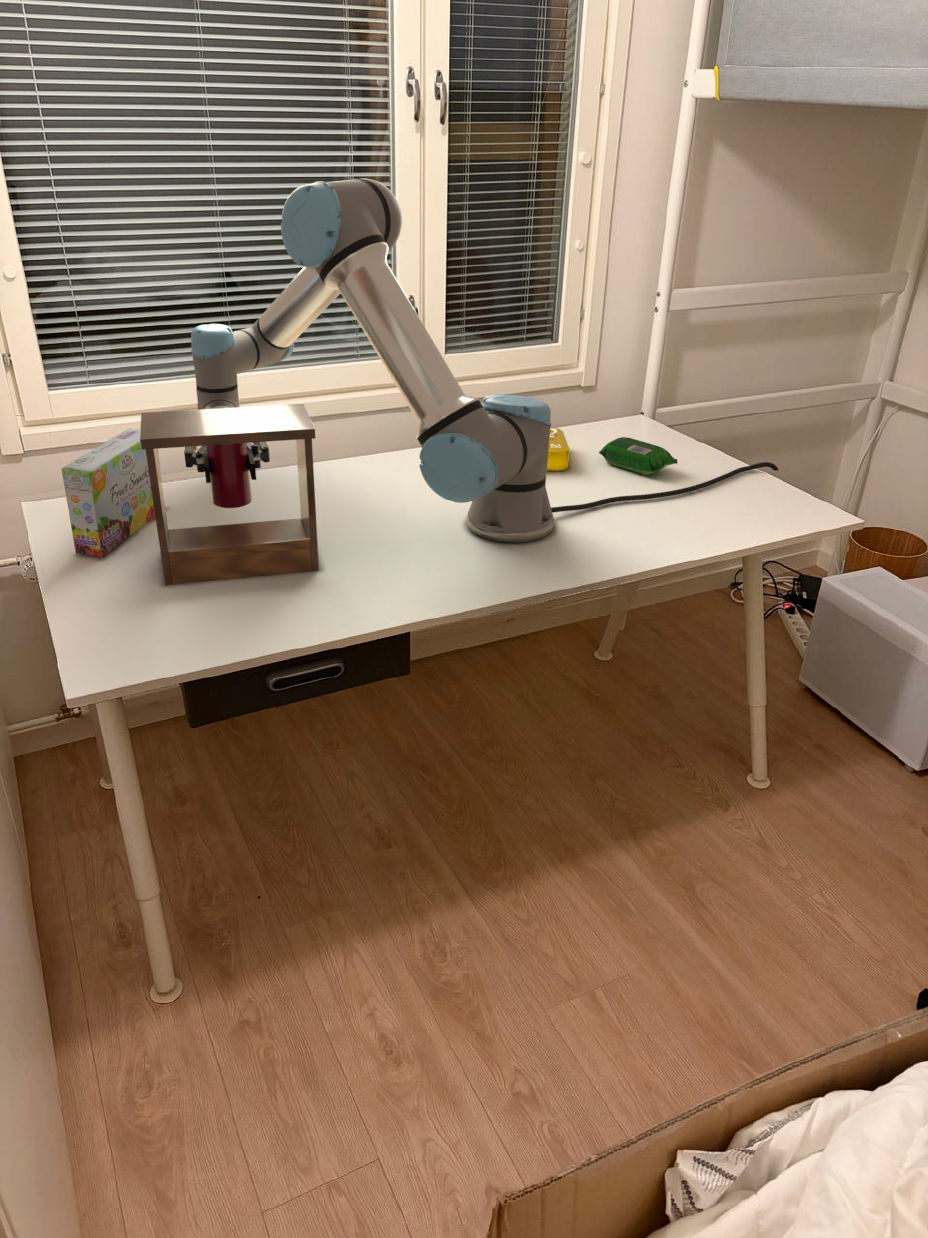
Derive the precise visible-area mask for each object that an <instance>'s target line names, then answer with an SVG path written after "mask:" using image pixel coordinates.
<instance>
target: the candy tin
mask: <svg viewBox="0 0 928 1238" xmlns="http://www.w3.org/2000/svg"><path fill="white" fill-rule="evenodd" d="M207 453H208V461H209V469H210V477H211V483H210V488H211V496H212V503H213V505H214V506H216V507H218V508H223V509H237V508H242V507H245V506H248V505H249V504H251V503H252V501H253V496H252V485H251V475H250V471H249V462H248V450H247V443H237V444H221V445H207Z"/></svg>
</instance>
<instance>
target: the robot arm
mask: <svg viewBox="0 0 928 1238" xmlns="http://www.w3.org/2000/svg"><path fill="white" fill-rule="evenodd" d="M402 226H403V215H402V209H401V206H400V204H399V201H398V199H397V198H396V196H395V195H394V193H393V192H392V191H391V190H390V189H389V188H388V187H387V186H386V185H385V184H383V183H381V182H380V181H378V180H375V179H371V178H365V177H364V178H363V177H361V178H360V177H359V178H354V179H345V180H336V181H322V180H319V181H318V180H317V181H314V182H313V183H308V184H303V185H301V186H299V187H297V188H296V189H294V190H293V191H292V192H291V193H290V194H289V196H288V197H287V199H286V200H285V203H284V205H283V207H282V213H281V223H280V234H281V239H282V243H283V245H284V249H285V250H286V252H287V254H288V255H289V257H290V258H291V259H292V260H293V262H294V263H295V264H297V265H298V266H300V267H303V268H302V269H301V270H300V271H299V272H298V273H297V274H296V275H295V276H294V278H293V279H292V280H291V281H290V283H288V284H287V285H286V287H285V288H284V289H283V291H281V293H280V294H279V295H278V296H277V297H276V298H275V299H274V300H273V302H272V303H270V305H269V306H268V307H267V308H266V310H265V311H264V312H263V313H262V314H261V316H260V317H259V318H258V319H257V320H256V321H254V323H253V324H252V325H251V326H248V327H246V328H243V329H239V330H235V331H233V330H232V328H231V327H230V326H229V325H226V324H222V323H209V324H200V325H198V326H194V328H192V330H191V332H190V339H191V340H190V344H191V345H190V346H191V349H190V352H191V356H192V362H193V370H194V377H195V386H196V389H195V390H196V398H197V410H202V409H221V408H239V407H240V398H239V388H238V387H239V385H238V375H239V374H243V373H245V372H249V371H253V370H256V369H259V368H263V367H266V366H270V365H276V364H279V363H281V362H282V361H285V360H287V359H289V358H290V357H291V356H292V354H293V353H294V347H295V341H296V340H297V339H298V338H299V337H300V336H302V334H303V333H304V332H305V331H306V330H307V329H308V328H309V327H310V326H311V325H312V323H314V321H316V319H318V317H319V316H320V315H321V314H322V313H323V312H324V311H325V310H326V309H327V308H328V307H329V306H330V305H331V304H332V303H333V302H334V301H335V300H336V298H337V297H339V296H340V294H341V297H342V298H343V299H344V301H345V303H346V305H347V306H348V308H349V309H350V312H351V313H352V314H353V316H354V318H355V319H356V321H357V323H358V325H359V326H360V328H361V329H362V331H363V333H364V334H365V337H367V339H368V341H369V343H370V344H371V346H372V348H373V349H374V351H375V353H376V354H377V356H378V357H379V359H380V362H381V363H382V364H383V366H384V369H386V372H388V374H389V376H390V378H391V379H392V381H393V383H394V384H395V386H396V388H397V389H398V391H399V393H400V395H401V396H402V398H403V399H404V401H405V403H406V404H407V406H408V408H409V410H410V411H411V413H412V414H413V416H414V418H415V420H416V422H417V425H418V426H417V431H416V436H415V438H416V440H417V442H418V443H419V444H420V447H421V450H420V452H419V457H418V458H419V460H420V463H419V470H420V473H421V476H422V478H423V480H424V482H425V484H426V485H427V486H428V487H429V488H430V489H431V490H432V491H433V492H434V493H435V494H436V495H438V496H439V497H440V498H442V499H444V500H447V501H451V502H453V503H458V504H467V503H470V502H471V504H470V506H469V508H468V511H467V527H468V528H469V530H470V531H471V532H472V533H473V534H475V535H477V536H479V537H482V538H484V539H487V540H491V541H494V542H500V543H514V544H515V543H527V542H533V541H537V540H540V539H542V538H545V537H547V536H549V534H550V533H551V532H552V531H553V529H554V527H553V526H554V514H553V513H561V512H571V511H582V510H588V509H592V508H596V507H600V506H603V505H608V504H613V503H619V502H620V503H621V502H627V501H628V502H630V501H643V500H644V501H645V500H652V499H653V500H654V499H659V498H666V497H672V496H677V495H683V494H687V493H691V492H694V491H697V490H701V489H705V488H707V487H710V486H712V485H714V484H718V483H719V482H722V481H724V480H727V479H730V478H731V477H734V476H736V475H739V474H741V473H745V472H749V471H753V470H756V469H759V468H770V469H772V470H773V471H777V472H779V470H780V469H779V468H778V466H777V465H776V464H775V463H772V462H770V461H764V462H763V461H762V462H758V463H754V464H750V465H745V466H742V467H738V468H736V469H733V470H731V471H729V472H727V473H725V474H722V475H719V476H717V477H714V478H712V479H710V480H707V481H704V482H700V483H698V484H695V485H691V486H687V487H684V488H679V489H673V490H668V491H661V492H653V493H646V494H633V495H620V496H613V497H608V498H603V499H599V500H595V501H592V502H588V503H587V502H586V503H581V504H572V505H562V506H561V505H560V506H554V507H553V506H552V507H551V503H550V499H549V495H548V491H547V472H548V471H547V462H548V450H549V437H550V428H552V423H551V422H552V421H551V418H552V415H551V414H552V413H551V407H550V406H549V404H548V403H546V402H545V401H543V400H541V399H538V398H534V397H531V396H524V395H516V394H503V393H500V394H499V393H498V394H490V395H487V396H485V397H484V398H483V399H482V403H481V400H479V397H478V398H477V397H473V396H470V395H467V394H465V393H464V390H463V389H462V387H461V386H460V384H459V383H458V380H457V379H456V377H455V376H454V374H453V372H452V371H451V369H450V367H449V365H448V364H447V362H446V360H445V359H444V357H443V355H442V354H441V351H440V350H439V348H438V347H437V345H436V343H435V342H434V340H433V338H432V337H431V335H430V333H429V332H428V330H427V328H426V326H425V325H424V323H423V322H422V320H421V318H420V316H419V315H418V313H417V312H416V310H415V308H414V307H413V305H412V303H411V302H410V300H409V298H408V297H407V295H406V293H405V291H404V290H403V288H402V286H401V284H400V282H399V281H398V279H397V278H396V276H395V274H394V273H393V271H392V269H391V267H390V266H389V264H388V263H387V257H388V254H389V252H390V251H391V250H392V249H393V247H394V246H395V245H396V244H397V242H398V240H399V237H400V235H401V231H402ZM247 450H248V462H249V472H250V480H251V481H255V480H257V473H256V472H257V471H256V470H257V469H261V468H262V462H263V463H270V461H271V458H270V447H269V445H268V442H253V443H247ZM183 455H184V463H185V467H186V468H189V469H190V468H193V467H194V466H196V471H197V472H198V473H204V477H205V483H206V484H211V477H210V469H209V461H208V453H207V445H206V446H199V448H198V446H190V447H184V451H183Z"/></svg>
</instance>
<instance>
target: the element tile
mask: <svg viewBox="0 0 928 1238" xmlns="http://www.w3.org/2000/svg"><path fill="white" fill-rule="evenodd" d="M569 461H570V447H569V444H568V441H567V439H566V436H565V434H564V432H563V431H562V430H561V429H560V428H557V427H556V428H555V427H553V428H552V427H550V437H549V450H548V462H547V472H563V471H566V470H567V469H568V468H569Z"/></svg>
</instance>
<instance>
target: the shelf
mask: <svg viewBox="0 0 928 1238" xmlns="http://www.w3.org/2000/svg"><path fill="white" fill-rule="evenodd" d="M140 429H141V432H140V442H141V449H142V450H143V449H145V450H146V457H147V463H148V470H149V477H150V484H151V491H152V498H153V504H154V511H155V517H154V518H155V525H156V530H157V539H158V542H159V543H158V546H159V552H160V558H161V565H162V571H163V579H164V585H165V586H170V585H171V586H172V585H181V584H191V583H200V582H212V581H220V580H230V579H231V580H233V579H241V578H250V577H251V578H252V577H262V576H263V577H264V576H270V575H281V574H282V575H283V574H291V573H292V574H293V573H301V572H312V571H320V564H319V563H320V562H319V547H318V529H317V528H318V526H317V509H316V508H317V506H316V488H315V470H314V454H313V453H314V452H313V440H315V439H316V429H315V426H314V423H313V421H312V419H311V417H310V415H309V413H308V411H307V408H306V406H305V403H297V404H296V403H295V404H278V405H259V406H257V405H256V406H239V408H221V409H202V410H198V409H186V410H170V411H149V412H141V413H140ZM282 441H295V444H296V459H297V475H298V476H297V477H298V491H299V492H298V493H299V507H300V509H299V510H300V518H290V519H279V520H278V519H277V520H265V521H264V520H263V521H253V522H241V523H230V524H219V525H206V526H196V527H182V528H171V529H169V523H168V517H167V510H166V509H167V508H166V501H165V495H164V488H163V481H162V473H160V472H161V465H160V466H159V463H160V458H159V459H158V455H159V451H158V452H157V449H158V450H159V449H173V448H185V447H190V446H197V447H201V446H206V445H221V444H237V443H251V444H253V442H266V443H268V442H282Z"/></svg>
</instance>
